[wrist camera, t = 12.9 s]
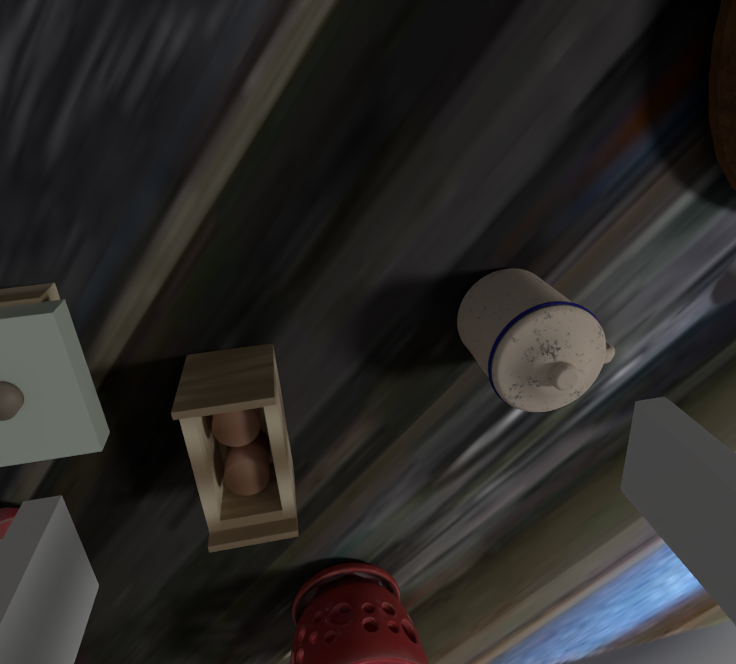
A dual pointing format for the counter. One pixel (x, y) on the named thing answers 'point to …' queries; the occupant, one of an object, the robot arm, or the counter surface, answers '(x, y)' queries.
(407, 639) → the plant pot
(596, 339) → the teacup with lid
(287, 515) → the wooden box
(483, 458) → the counter surface
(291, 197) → the counter surface
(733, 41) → the bread
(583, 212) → the counter surface
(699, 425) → the robot arm
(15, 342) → the lid
